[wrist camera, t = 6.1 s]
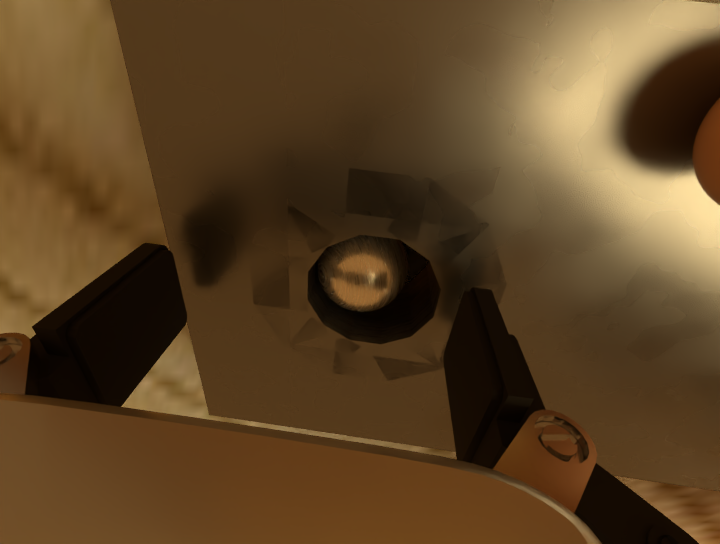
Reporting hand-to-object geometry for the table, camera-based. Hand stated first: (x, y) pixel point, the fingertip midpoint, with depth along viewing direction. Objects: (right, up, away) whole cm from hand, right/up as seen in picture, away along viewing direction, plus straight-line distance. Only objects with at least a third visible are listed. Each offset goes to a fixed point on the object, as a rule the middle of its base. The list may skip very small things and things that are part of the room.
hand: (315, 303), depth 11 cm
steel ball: (+2, +1, +2) cm, 3 cm away
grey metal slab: (+8, +1, +3) cm, 9 cm away
